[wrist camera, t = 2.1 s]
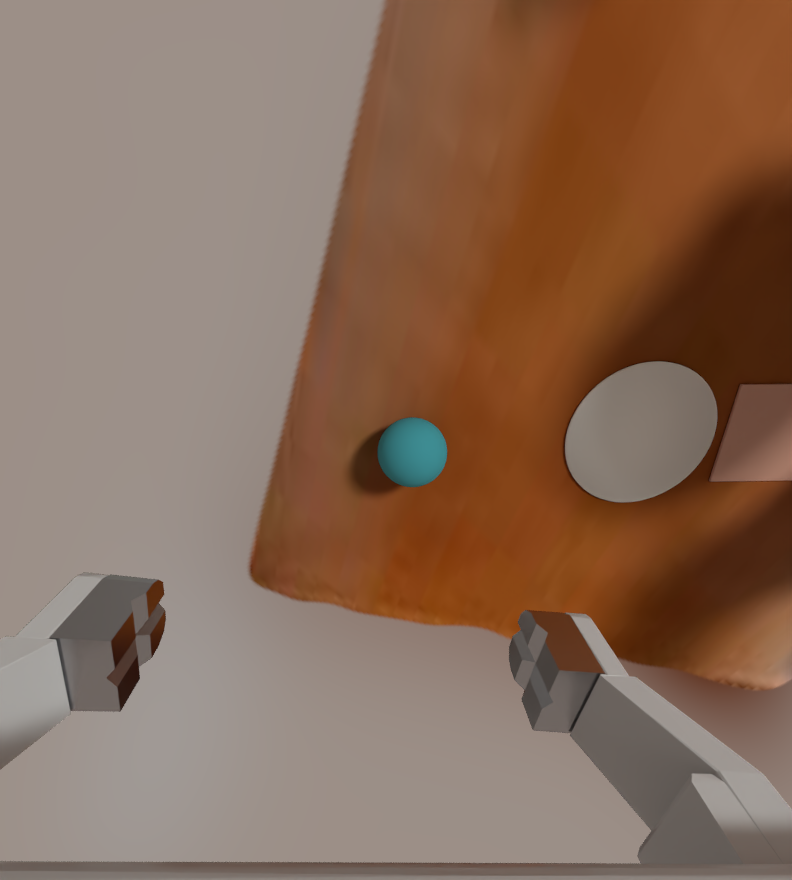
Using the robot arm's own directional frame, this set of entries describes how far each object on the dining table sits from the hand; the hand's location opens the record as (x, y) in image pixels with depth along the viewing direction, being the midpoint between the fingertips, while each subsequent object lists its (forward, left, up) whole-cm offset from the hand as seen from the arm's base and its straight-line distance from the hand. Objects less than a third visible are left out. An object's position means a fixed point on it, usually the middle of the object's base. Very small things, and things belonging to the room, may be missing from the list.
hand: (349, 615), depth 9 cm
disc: (-18, -15, -24) cm, 34 cm away
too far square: (-25, -25, -24) cm, 43 cm away
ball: (-6, +1, -22) cm, 22 cm away
